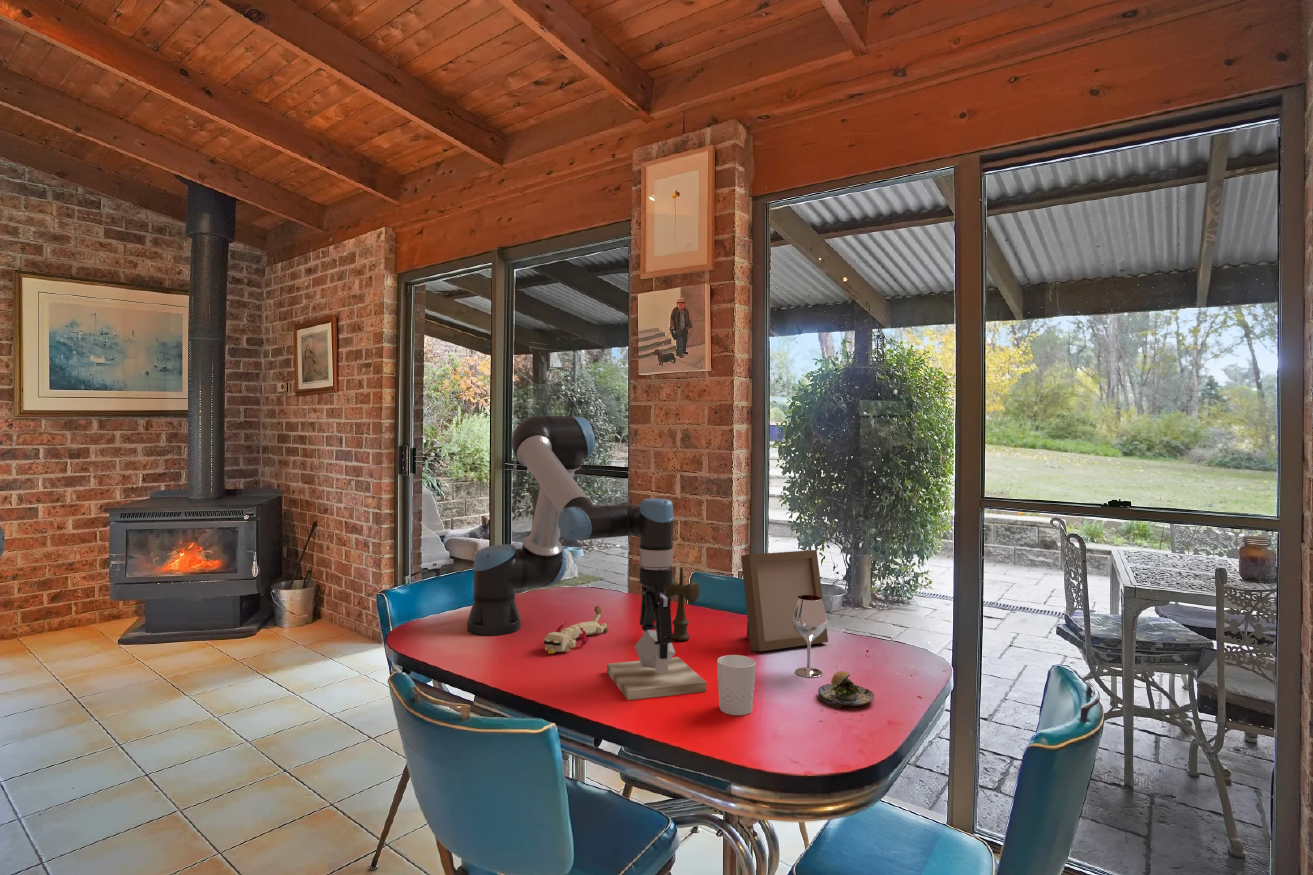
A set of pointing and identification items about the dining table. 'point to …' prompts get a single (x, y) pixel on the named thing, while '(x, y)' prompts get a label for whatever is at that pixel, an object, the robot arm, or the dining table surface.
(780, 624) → the photo frame
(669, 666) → the birch board
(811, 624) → the wineglass
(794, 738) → the dining table surface
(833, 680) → the burger
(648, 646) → the die
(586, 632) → the cat figure
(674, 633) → the kendama
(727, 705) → the white cup
